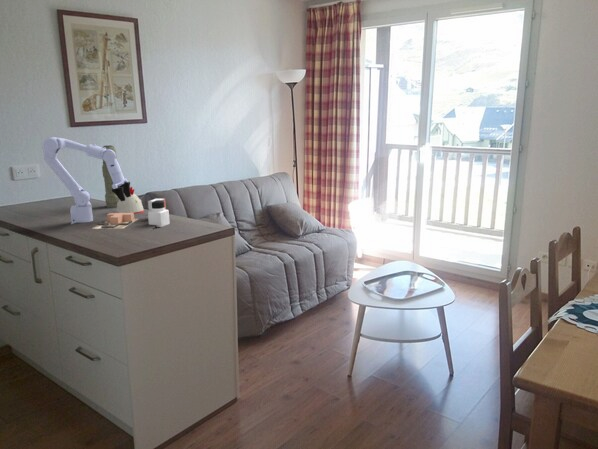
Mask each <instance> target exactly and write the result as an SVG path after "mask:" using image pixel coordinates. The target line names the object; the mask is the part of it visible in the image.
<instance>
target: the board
mask: <svg viewBox="0 0 598 449" xmlns="http://www.w3.org/2000/svg"><path fill="white" fill-rule="evenodd" d="M138 220H139V218H134V220H133V221H130V222H122V223H118V224H110V222H107V219H106V220H102V221H100V222H99V223H97V225H95V226H94V227H92V228H91V230H97V229H98V230H100V229H101V230H103V229H104V230H105V229H108V230H112V229H114V230H117V229H119V230H121V229H125V228H126V227H128V226H130V225H132V224H133V223H134V222H136V221H138Z"/></svg>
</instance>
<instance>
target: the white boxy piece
mask: <svg viewBox="0 0 598 449" xmlns="http://www.w3.org/2000/svg"><path fill="white" fill-rule="evenodd" d="M155 200H162V201H164V206H165V209H164V210H167V205H166V198H154V199H151V200H147V204H148V205H147V206H148V212H149V211H152V208H151V202H152V201H155Z"/></svg>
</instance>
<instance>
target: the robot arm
mask: <svg viewBox="0 0 598 449" xmlns="http://www.w3.org/2000/svg"><path fill="white" fill-rule="evenodd" d="M41 147H42V151H43V152H42V153H43V160H44V162H45V163H46V164H47V165H48V166H49V168H50V169H51V170H52V171H53V172H54V173H55V175H56V176H57V177H58V178H59V179H60V181H61V182H62V183H63V184H64V185H65V187H66V188H67V189H68V190H69V192H70V194H71V196H72V198H73V201H74V203H75V205H71V206H70V210H69V213H70V221H71V223H70V225H74V224H76V223H89V222H93V221H94V216H93V207H92V203H91V202H90V200H91V198H92V196H91V194H90V192H89V191H88V190H85V189H84V188H83V187H82V186H81V185H80V184H79V183H78V182H77V181H76V179H75V178H74V177H73V176H72V175H71V174H70V171H68V170H67V169H66V168H65V166H64V165H63V164H62V163H61V162H60V161H59V160H60V159H58V154H59V151H60V149H66V148H69V149H73V150H76V151H81V152H83V153H85V154H86V155H87V156H88V157H92V158H96V159H99V160H102V159H103V160H104V161H105V162H106V165H107V168H108V171H109V173H110V176H111V178H112V181H113V185H112V187H113V189H112V192H114V193H115V194H116V195H117V197H118V198H119V199H120V201H125V196H126V197H131V194H130V187H131V181H128V179H127V177H124V174H123V171H122V169H121V166H120V164H119V162H118V159H116V158H117V153H116V154H115V152H114V151H113V150H111V149H106V147H104V146H98V145H97V144H96V143H92V144H91V143H90V144H88V145H86V144H82V143H79V142H77V141H74V140H71V139H69V138H68V139H67V138H63V137H57V136H51V137H46V138H45V139H44V140H43V143H42V146H41ZM102 147H104V148H102ZM115 157H116V158H115ZM103 160H102V161H103ZM124 194H125V196H124Z"/></svg>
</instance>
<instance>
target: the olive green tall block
mask: <svg viewBox="0 0 598 449" xmlns="http://www.w3.org/2000/svg"><path fill="white" fill-rule="evenodd" d="M101 147H102V148H104V147H106V149H111V150H113V151H114V152H115V154H116V155H117V150H116V148H115V146H113V145H103V146H101ZM115 158H116V159H117V156H116V157H115ZM101 160H102V165H101V170H102V171H101V172H102V177H103V180H104V189H105V193H104V194H105V195H104V199H105V200H104V201H105V205H106V208H108V209H113V208H116V209H117V203H118V201H119V198H118V197H117V195H116V194H115V193H114V192H112V189H113V187H112V185H113V181H112V178H111V176H110V173H109V171H108V168H107V165H106V162H105V161H104V160H103V159H101ZM117 160H118V159H117Z"/></svg>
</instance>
